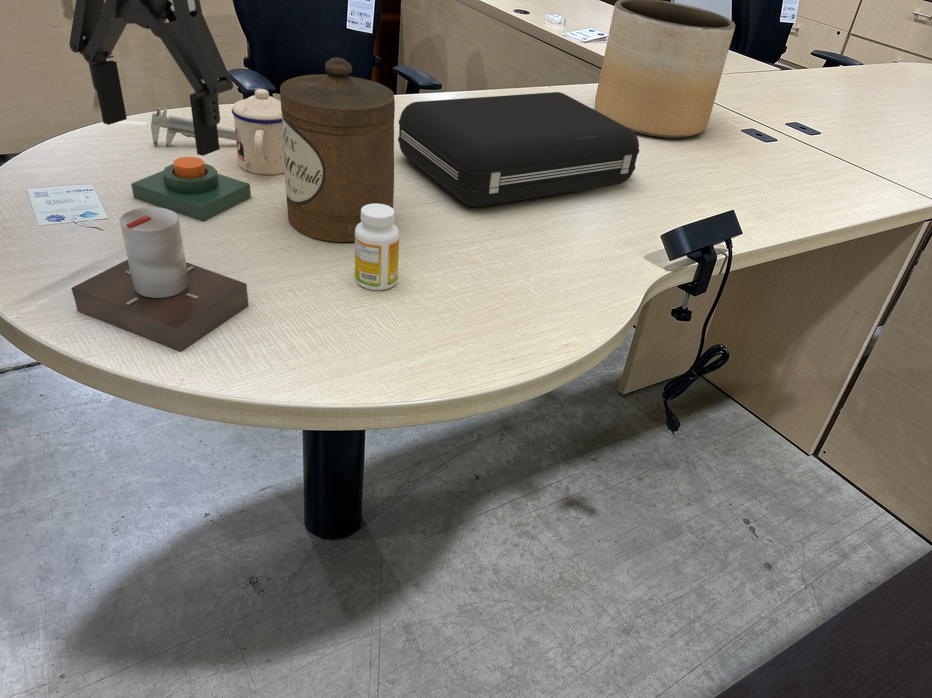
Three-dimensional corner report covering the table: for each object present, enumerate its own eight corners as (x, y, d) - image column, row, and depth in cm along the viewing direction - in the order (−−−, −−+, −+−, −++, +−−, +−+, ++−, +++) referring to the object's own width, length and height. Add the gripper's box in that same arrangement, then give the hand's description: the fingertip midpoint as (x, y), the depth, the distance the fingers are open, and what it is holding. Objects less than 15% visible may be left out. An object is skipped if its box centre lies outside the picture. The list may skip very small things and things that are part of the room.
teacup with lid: (241, 152, 120) (234, 78, 113) (299, 156, 122) (295, 84, 115) (229, 181, 111) (221, 103, 104) (291, 186, 113) (287, 109, 106)
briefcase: (536, 127, 150) (543, 76, 144) (639, 188, 131) (652, 133, 125) (374, 142, 131) (375, 85, 125) (466, 217, 112) (472, 153, 106)
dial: (160, 267, 84) (148, 199, 79) (200, 282, 83) (190, 214, 78) (121, 288, 80) (106, 217, 75) (162, 303, 78) (149, 233, 73)
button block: (133, 198, 103) (128, 170, 100) (184, 176, 111) (181, 150, 108) (203, 222, 100) (200, 194, 98) (251, 197, 108) (248, 171, 105)
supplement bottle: (388, 267, 97) (390, 198, 91) (403, 288, 93) (407, 217, 88) (349, 273, 95) (348, 202, 89) (363, 294, 91) (363, 222, 85)
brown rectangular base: (77, 311, 81) (70, 286, 79) (152, 270, 89) (148, 247, 87) (180, 351, 77) (176, 326, 75) (248, 305, 86) (246, 282, 84)
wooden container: (281, 199, 109) (270, 40, 95) (379, 196, 114) (383, 45, 101) (295, 246, 98) (286, 75, 85) (403, 240, 103) (411, 79, 90)
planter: (724, 144, 157) (759, 33, 144) (615, 138, 151) (640, 22, 137) (677, 105, 176) (704, 4, 163) (578, 98, 170) (597, -7, 156)
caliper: (154, 148, 117) (147, 108, 114) (154, 145, 118) (147, 105, 114) (286, 147, 125) (284, 110, 121) (285, 145, 125) (283, 108, 122)
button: (168, 174, 102) (166, 162, 101) (189, 166, 105) (187, 154, 104) (191, 182, 101) (190, 170, 100) (211, 173, 104) (210, 161, 103)
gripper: (-3, -101, 72) (51, 116, 85) (201, -51, 66) (226, 175, 79) (63, -102, 78) (104, 102, 91) (257, -56, 72) (271, 155, 84)
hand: (161, 136), depth 85 cm, fingers open, 13 cm apart
